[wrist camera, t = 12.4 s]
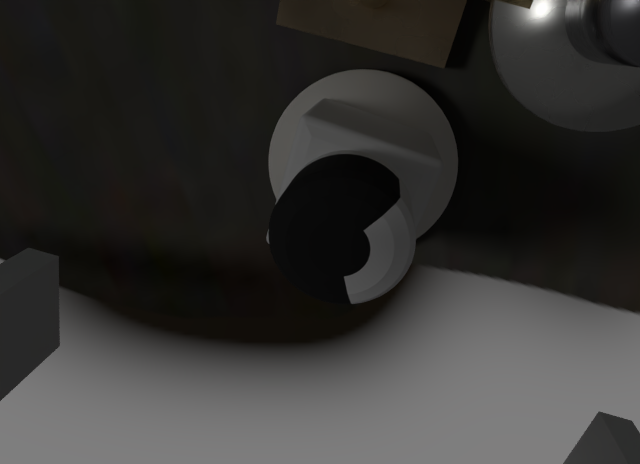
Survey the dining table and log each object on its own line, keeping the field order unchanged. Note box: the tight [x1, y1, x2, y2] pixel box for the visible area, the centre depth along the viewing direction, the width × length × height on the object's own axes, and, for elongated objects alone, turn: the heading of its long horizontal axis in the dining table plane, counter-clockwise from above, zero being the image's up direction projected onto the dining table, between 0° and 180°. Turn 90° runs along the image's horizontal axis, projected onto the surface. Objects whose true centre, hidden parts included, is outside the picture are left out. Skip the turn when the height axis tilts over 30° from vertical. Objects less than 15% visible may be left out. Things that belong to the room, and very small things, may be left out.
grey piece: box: [267, 98, 444, 304], centre depth 23 cm, size 7×7×12 cm
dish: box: [269, 69, 458, 239], centre depth 29 cm, size 12×12×1 cm
